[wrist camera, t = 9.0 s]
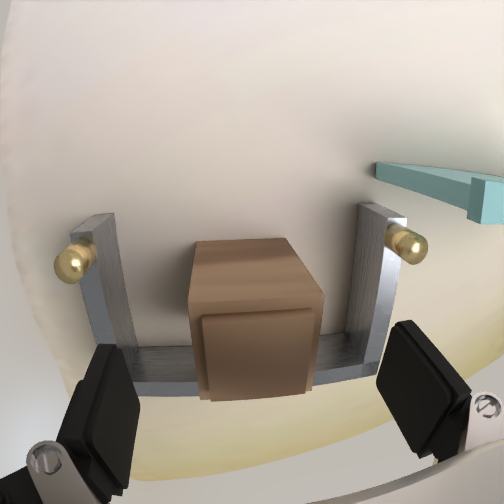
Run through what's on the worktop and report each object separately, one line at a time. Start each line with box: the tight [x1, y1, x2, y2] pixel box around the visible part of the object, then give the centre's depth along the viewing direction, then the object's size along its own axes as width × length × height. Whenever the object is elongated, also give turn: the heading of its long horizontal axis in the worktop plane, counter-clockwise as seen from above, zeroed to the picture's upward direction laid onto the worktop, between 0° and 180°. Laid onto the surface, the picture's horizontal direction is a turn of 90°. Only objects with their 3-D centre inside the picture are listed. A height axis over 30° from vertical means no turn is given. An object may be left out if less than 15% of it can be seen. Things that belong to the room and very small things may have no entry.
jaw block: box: [188, 238, 324, 402], centre depth 15 cm, size 5×5×8 cm
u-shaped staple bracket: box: [54, 203, 428, 397], centre depth 16 cm, size 10×17×6 cm, turn 91°
